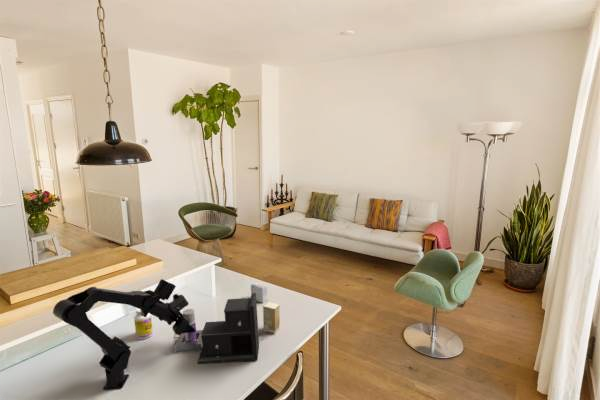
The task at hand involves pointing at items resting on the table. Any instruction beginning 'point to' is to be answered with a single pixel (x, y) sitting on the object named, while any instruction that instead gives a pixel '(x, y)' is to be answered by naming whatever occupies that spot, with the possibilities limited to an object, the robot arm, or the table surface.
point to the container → (191, 325)
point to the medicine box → (260, 291)
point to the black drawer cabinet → (232, 334)
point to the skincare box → (271, 317)
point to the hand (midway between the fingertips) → (191, 325)
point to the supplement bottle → (143, 325)
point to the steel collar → (189, 343)
